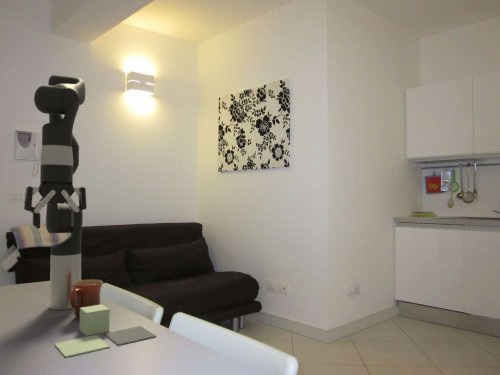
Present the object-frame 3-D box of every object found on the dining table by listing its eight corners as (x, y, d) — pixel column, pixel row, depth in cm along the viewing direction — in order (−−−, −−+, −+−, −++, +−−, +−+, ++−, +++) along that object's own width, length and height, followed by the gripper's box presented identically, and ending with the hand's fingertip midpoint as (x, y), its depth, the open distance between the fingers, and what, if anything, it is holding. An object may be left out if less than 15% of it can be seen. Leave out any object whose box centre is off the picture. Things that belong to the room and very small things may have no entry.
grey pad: (104, 334, 106) (104, 333, 106) (140, 327, 113) (140, 325, 113) (118, 345, 99) (118, 344, 99) (156, 336, 105) (156, 335, 105)
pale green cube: (79, 330, 110) (79, 307, 110) (101, 325, 114) (102, 304, 114) (86, 336, 106) (86, 312, 106) (109, 331, 109) (109, 308, 109)
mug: (82, 311, 127) (83, 278, 128) (108, 313, 126) (108, 280, 126) (57, 323, 116) (57, 287, 116) (85, 325, 114) (85, 288, 114)
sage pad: (54, 344, 99) (54, 343, 99) (96, 336, 105) (96, 334, 105) (65, 357, 91) (65, 356, 91) (109, 347, 97) (109, 346, 97)
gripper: (81, 166, 112) (80, 225, 111) (22, 163, 103) (21, 227, 103) (89, 164, 106) (89, 227, 105) (28, 161, 97) (27, 229, 97)
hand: (56, 227), depth 104 cm, fingers open, 8 cm apart
